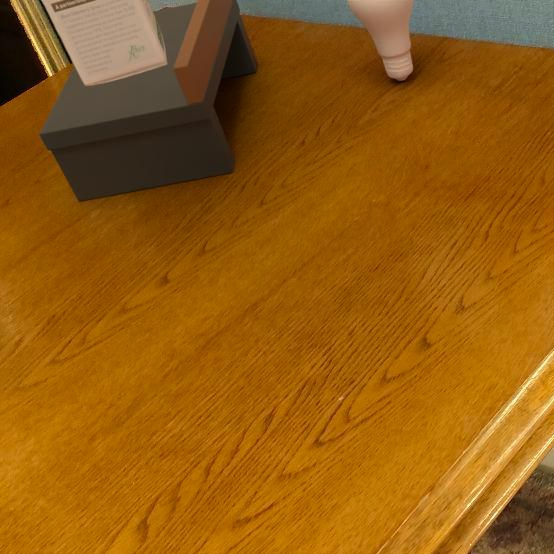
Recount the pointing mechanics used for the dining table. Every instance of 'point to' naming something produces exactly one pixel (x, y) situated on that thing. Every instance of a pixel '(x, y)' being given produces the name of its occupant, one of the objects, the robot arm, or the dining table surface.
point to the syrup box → (108, 37)
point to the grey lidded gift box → (154, 109)
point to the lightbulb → (388, 32)
